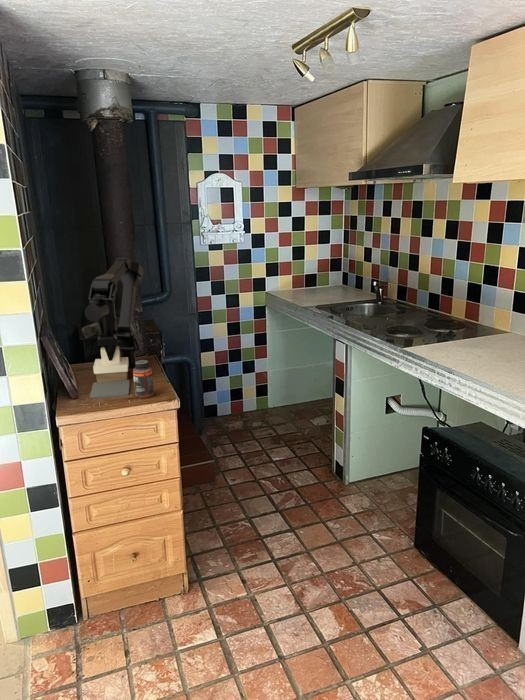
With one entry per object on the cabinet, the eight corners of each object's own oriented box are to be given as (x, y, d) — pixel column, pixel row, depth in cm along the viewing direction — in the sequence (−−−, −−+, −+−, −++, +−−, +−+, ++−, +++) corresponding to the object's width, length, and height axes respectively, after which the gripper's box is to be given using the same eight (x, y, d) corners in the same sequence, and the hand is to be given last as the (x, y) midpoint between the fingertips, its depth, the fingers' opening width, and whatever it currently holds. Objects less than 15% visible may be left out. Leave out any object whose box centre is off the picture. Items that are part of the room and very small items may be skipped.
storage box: (98, 375, 193) (97, 362, 191) (127, 373, 195) (126, 360, 193) (96, 382, 185) (95, 369, 184) (126, 380, 187) (125, 366, 186)
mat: (93, 384, 184) (93, 382, 184) (129, 381, 186) (129, 379, 186) (89, 398, 171) (89, 396, 171) (128, 395, 173) (128, 393, 173)
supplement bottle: (155, 391, 176) (152, 358, 173) (152, 398, 170) (149, 364, 167) (136, 392, 176) (134, 359, 173) (133, 399, 170) (130, 364, 167)
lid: (96, 365, 192) (94, 345, 190) (128, 363, 194) (126, 343, 192) (94, 373, 184) (91, 352, 181) (127, 371, 186) (126, 350, 184)
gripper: (85, 310, 191) (89, 353, 195) (78, 322, 173) (83, 368, 178) (117, 309, 193) (121, 351, 197) (114, 320, 175) (118, 366, 180)
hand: (110, 359), depth 188 cm, fingers closed on lid, 3 cm apart
